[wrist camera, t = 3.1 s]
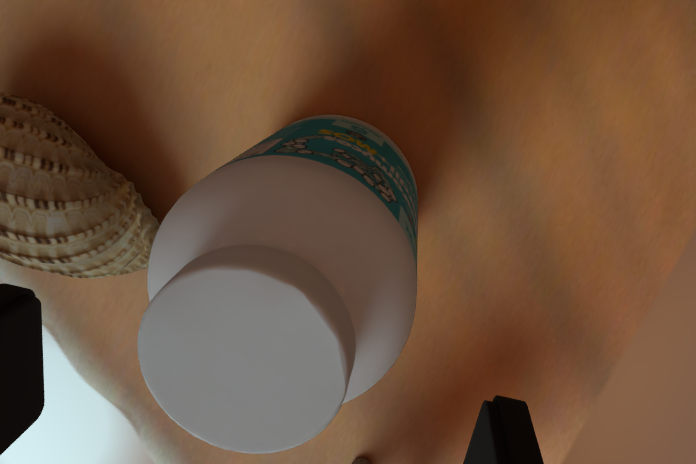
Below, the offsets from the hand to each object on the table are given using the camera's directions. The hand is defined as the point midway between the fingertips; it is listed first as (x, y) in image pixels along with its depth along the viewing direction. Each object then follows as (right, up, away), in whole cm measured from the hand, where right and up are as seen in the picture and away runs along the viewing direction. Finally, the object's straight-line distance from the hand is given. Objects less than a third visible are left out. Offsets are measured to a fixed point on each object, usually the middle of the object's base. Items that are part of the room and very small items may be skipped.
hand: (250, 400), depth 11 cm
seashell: (-11, +6, +15) cm, 19 cm away
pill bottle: (+1, +5, +13) cm, 14 cm away
